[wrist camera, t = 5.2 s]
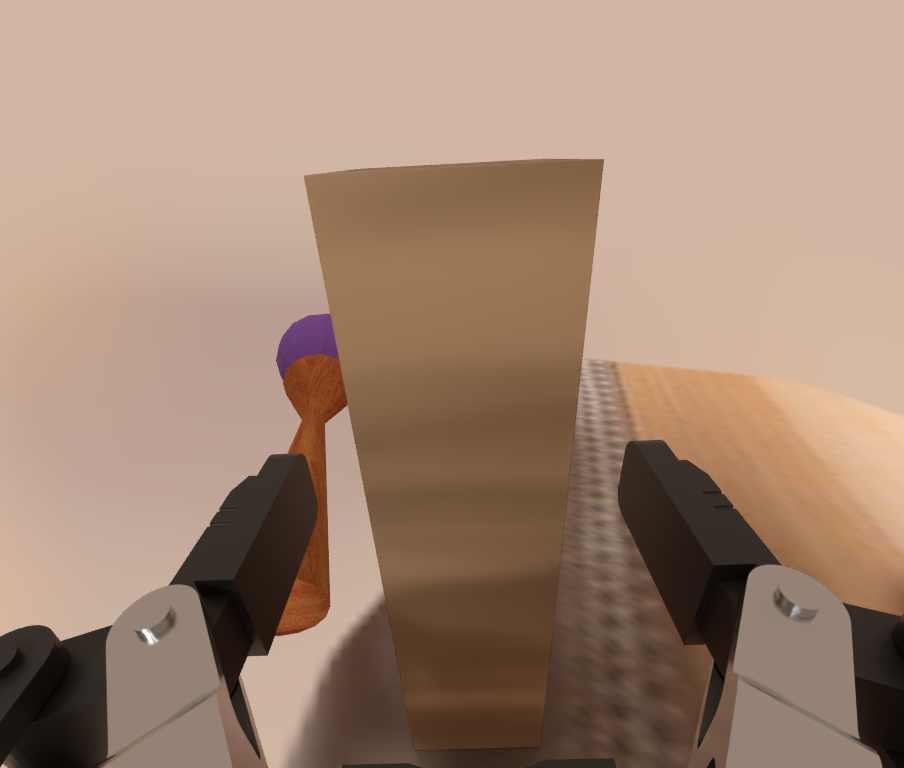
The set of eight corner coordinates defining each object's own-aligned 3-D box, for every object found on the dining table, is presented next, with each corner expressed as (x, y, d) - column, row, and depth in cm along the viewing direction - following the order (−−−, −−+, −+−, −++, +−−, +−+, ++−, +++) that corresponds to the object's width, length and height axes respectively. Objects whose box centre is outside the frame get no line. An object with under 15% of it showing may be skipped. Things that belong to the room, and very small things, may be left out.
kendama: (130, 584, 12) (270, 313, 29) (235, 672, 15) (306, 383, 32) (330, 527, 12) (354, 290, 29) (392, 627, 15) (382, 362, 32)
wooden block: (540, 746, 11) (603, 160, 5) (414, 749, 11) (303, 175, 5) (521, 624, 14) (544, 158, 8) (421, 627, 14) (360, 169, 8)
